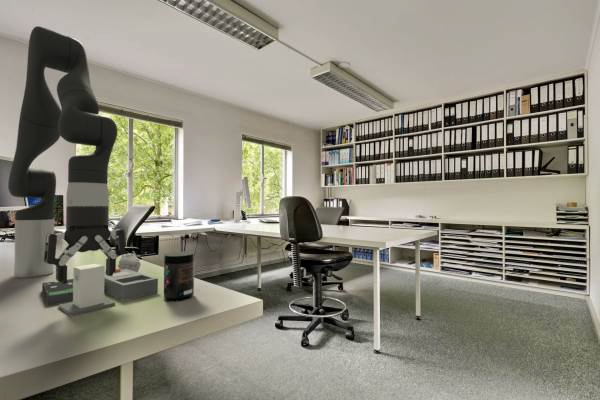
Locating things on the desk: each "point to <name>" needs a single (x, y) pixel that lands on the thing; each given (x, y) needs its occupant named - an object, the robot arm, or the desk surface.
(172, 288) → the supplement container
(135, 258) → the frog figurine
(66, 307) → the mat
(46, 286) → the disk drive
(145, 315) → the desk surface
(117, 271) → the desk organizer
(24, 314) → the desk surface
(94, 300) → the charger
